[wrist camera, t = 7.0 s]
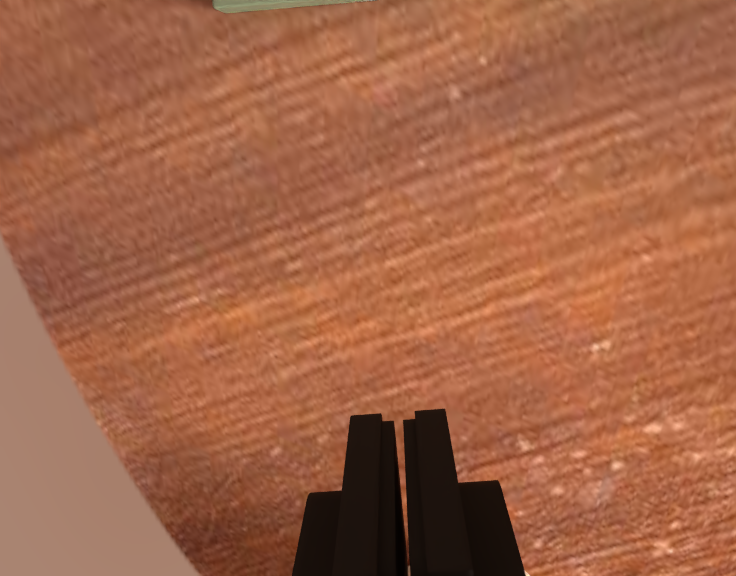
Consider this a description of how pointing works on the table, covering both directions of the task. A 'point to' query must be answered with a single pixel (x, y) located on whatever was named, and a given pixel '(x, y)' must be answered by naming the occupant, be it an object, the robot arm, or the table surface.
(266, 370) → the table surface
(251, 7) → the scale
